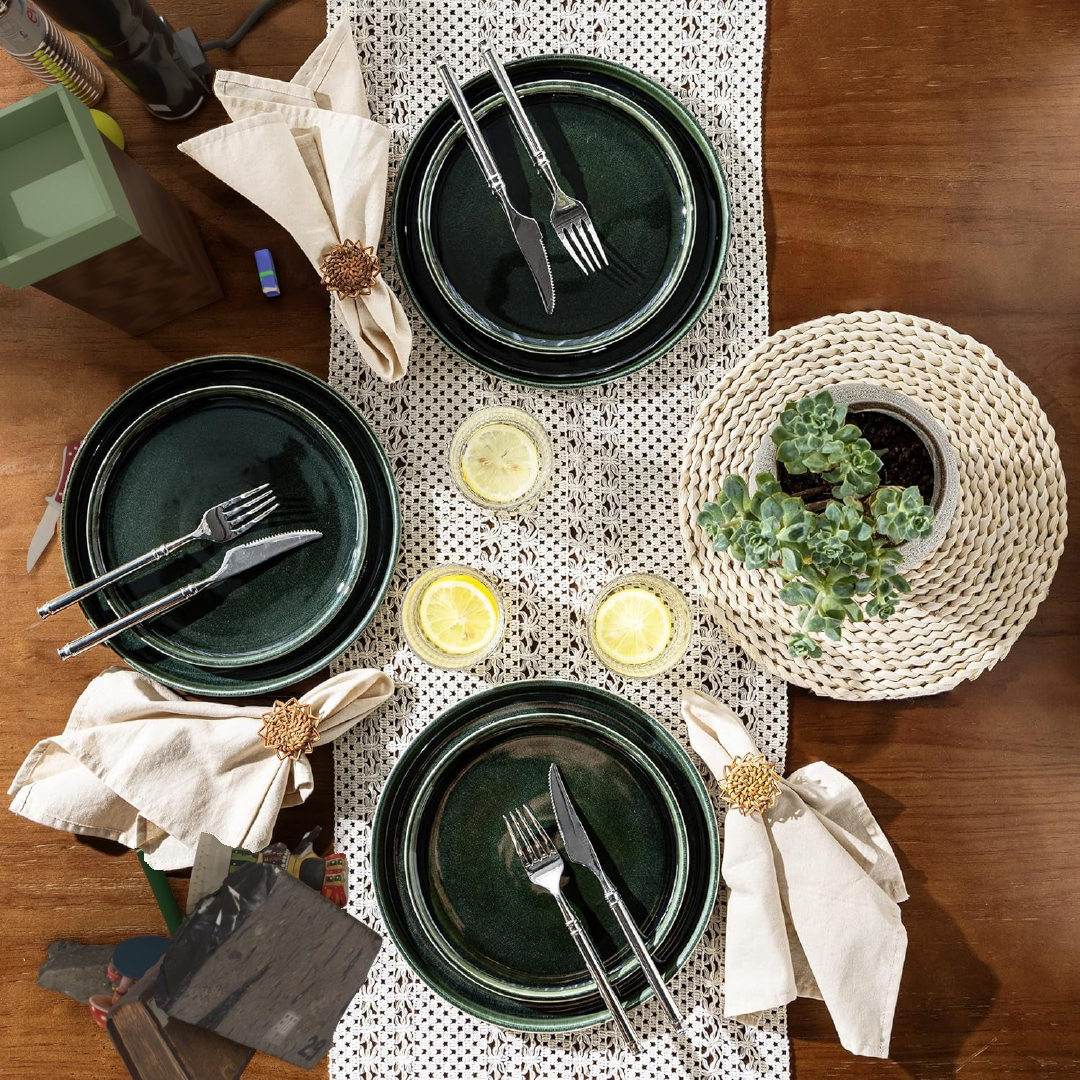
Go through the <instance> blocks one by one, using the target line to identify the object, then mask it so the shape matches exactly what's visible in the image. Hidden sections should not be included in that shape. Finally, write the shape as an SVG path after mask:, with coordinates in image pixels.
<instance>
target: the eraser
mask: <svg viewBox="0 0 1080 1080" xmlns="http://www.w3.org/2000/svg"><path fill="white" fill-rule="evenodd" d="M254 257H255V262H256V267H257V270H258V274H259V275H258V276H259V280H260V284H261V288H262V292H263V294H265V296H266V297H268V298H270V297H276V296H280V295H281V292H280V287H279V283H278V279H277V272H276V269H275V264H274V260H273V256H272V254H271V252H270V251H269V249H268V248H263V249H260V250H256V251H255V252H254Z"/></svg>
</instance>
